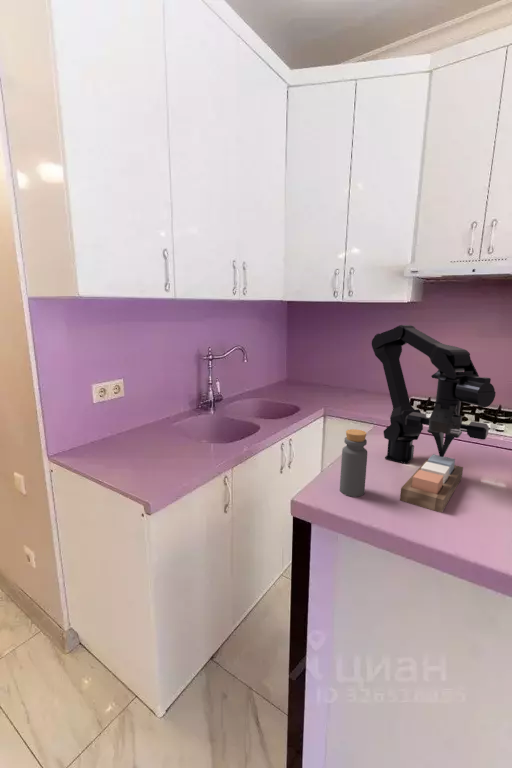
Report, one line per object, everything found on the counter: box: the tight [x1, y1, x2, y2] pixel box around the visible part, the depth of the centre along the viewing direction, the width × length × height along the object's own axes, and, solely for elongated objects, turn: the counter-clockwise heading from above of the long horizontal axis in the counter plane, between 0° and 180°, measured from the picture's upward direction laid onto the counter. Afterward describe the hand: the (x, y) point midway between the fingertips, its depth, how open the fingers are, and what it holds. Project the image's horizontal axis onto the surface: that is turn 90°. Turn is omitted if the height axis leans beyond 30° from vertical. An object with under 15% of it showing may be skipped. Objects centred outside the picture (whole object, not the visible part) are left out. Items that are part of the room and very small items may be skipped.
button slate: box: [427, 453, 456, 475], centre depth 100 cm, size 5×5×4 cm
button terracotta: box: [412, 470, 443, 495], centre depth 89 cm, size 5×5×4 cm
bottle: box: [339, 428, 368, 498], centre depth 91 cm, size 6×6×15 cm
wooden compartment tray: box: [399, 458, 464, 514], centre depth 94 cm, size 9×24×3 cm, turn 143°
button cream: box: [421, 462, 450, 484], centre depth 94 cm, size 5×5×4 cm
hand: (441, 456), depth 99 cm, fingers closed
